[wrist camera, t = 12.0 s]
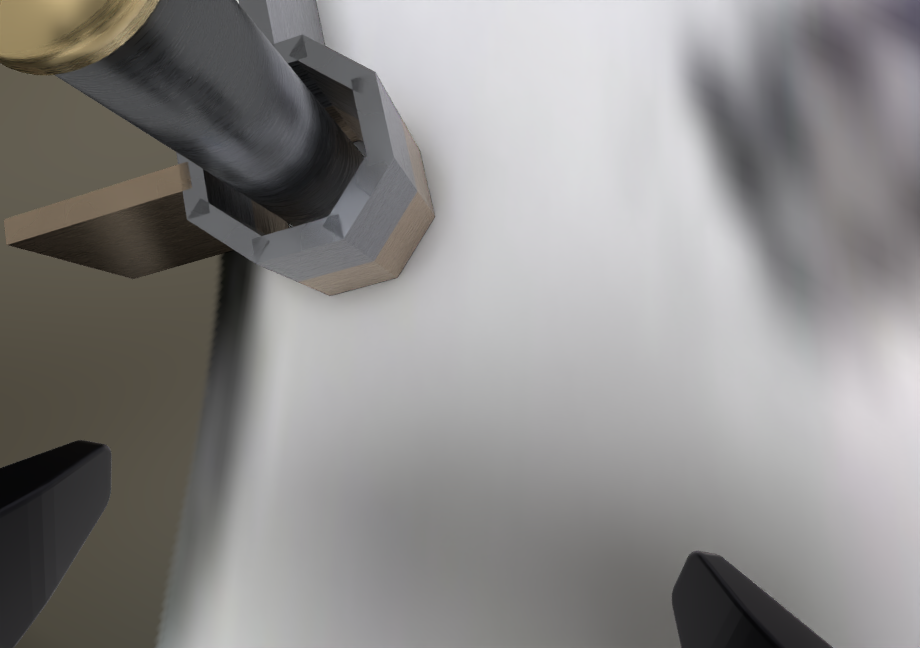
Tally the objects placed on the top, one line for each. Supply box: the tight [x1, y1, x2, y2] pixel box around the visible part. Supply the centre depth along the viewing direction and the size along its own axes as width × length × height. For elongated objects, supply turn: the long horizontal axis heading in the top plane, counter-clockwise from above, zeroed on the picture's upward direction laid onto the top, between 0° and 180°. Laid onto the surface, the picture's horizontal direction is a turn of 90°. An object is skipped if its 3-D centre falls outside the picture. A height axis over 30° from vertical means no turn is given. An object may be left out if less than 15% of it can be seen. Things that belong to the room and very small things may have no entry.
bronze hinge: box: [4, 0, 435, 296], centre depth 19 cm, size 12×12×5 cm
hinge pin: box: [0, 0, 365, 227], centre depth 14 cm, size 4×4×12 cm
